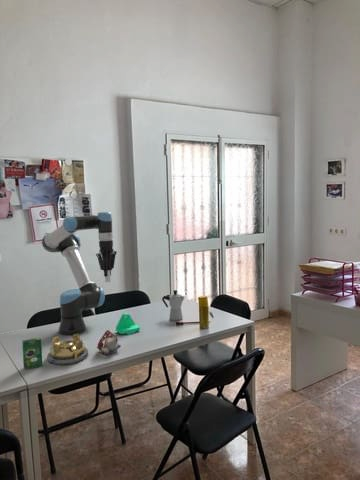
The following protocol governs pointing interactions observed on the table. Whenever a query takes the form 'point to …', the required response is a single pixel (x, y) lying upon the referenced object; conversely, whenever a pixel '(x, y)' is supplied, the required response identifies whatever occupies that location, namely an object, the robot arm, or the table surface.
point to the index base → (68, 361)
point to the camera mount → (126, 325)
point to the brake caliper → (108, 344)
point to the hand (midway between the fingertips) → (107, 281)
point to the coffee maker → (174, 305)
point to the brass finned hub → (67, 348)
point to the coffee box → (32, 353)
